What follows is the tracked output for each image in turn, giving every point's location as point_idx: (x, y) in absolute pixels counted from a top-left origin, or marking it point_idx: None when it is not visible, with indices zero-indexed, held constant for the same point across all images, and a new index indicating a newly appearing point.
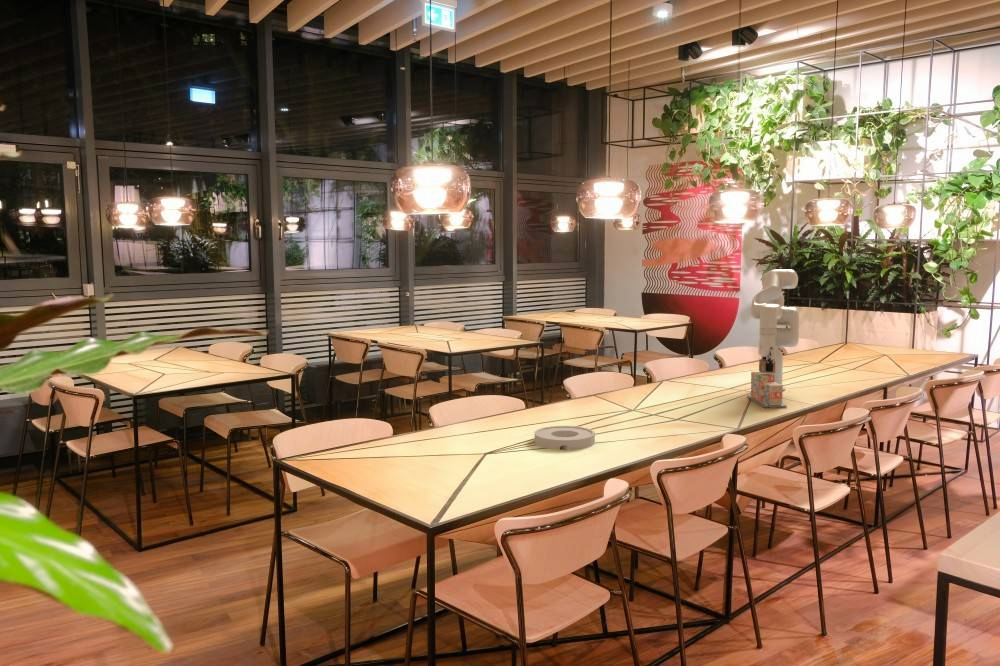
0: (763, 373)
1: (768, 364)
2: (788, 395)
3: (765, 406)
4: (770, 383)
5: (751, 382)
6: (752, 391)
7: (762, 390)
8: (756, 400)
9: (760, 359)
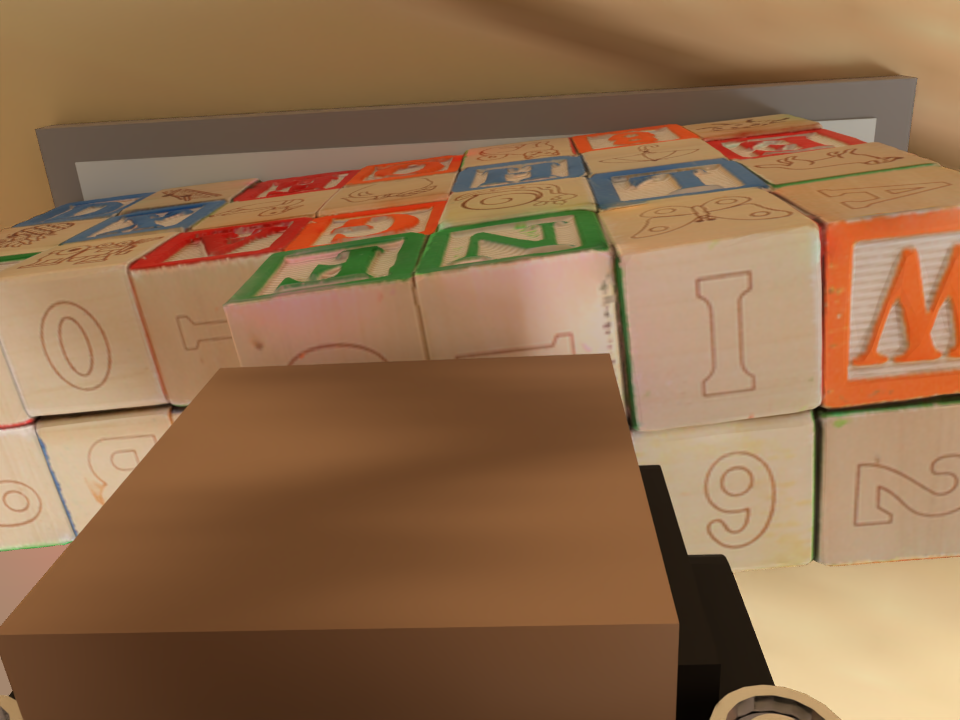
0: (650, 459)
1: (9, 695)
2: (933, 667)
3: (39, 138)
4: (99, 388)
5: (863, 150)
6: (742, 133)
7: (271, 214)
8: (478, 123)
9: (646, 673)
